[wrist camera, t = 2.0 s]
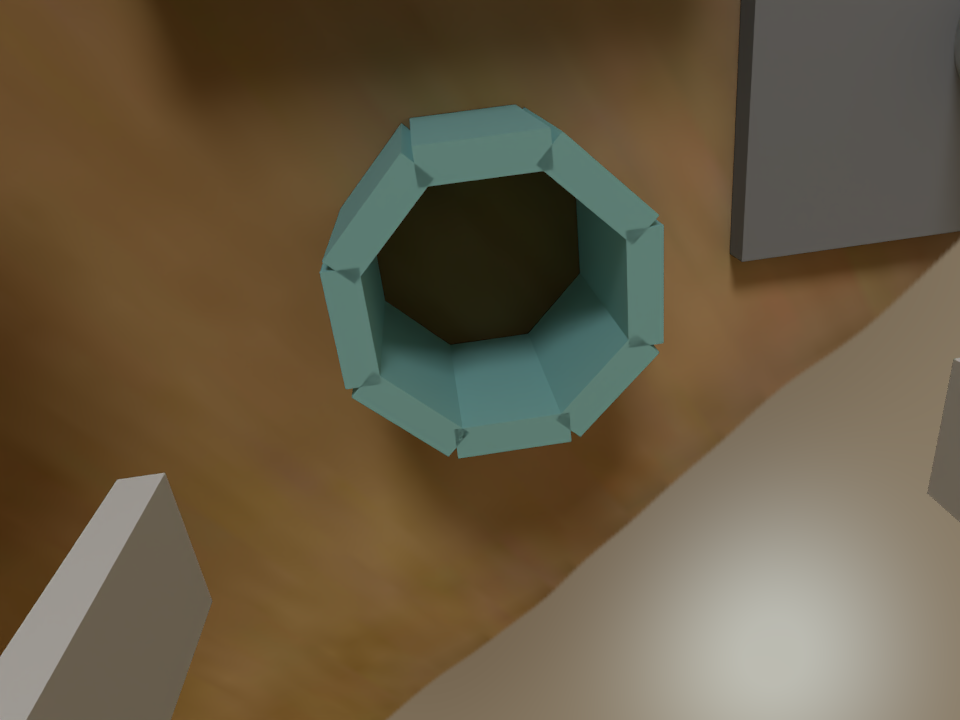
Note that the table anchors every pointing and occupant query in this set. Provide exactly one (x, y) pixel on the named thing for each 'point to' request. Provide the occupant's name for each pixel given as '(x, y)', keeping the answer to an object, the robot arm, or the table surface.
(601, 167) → the collar
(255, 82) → the table surface
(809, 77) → the stand
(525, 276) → the table surface
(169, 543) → the robot arm
